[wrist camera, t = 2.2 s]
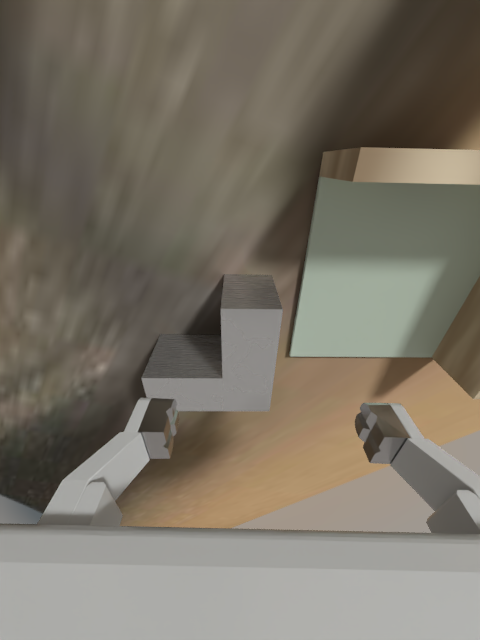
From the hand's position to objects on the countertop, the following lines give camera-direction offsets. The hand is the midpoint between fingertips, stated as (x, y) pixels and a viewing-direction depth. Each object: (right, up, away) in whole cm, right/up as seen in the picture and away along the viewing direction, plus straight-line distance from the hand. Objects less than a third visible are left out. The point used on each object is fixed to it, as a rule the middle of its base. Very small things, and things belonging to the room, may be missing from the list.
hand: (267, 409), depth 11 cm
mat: (+10, +7, +7) cm, 15 cm away
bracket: (-3, +4, +9) cm, 11 cm away
